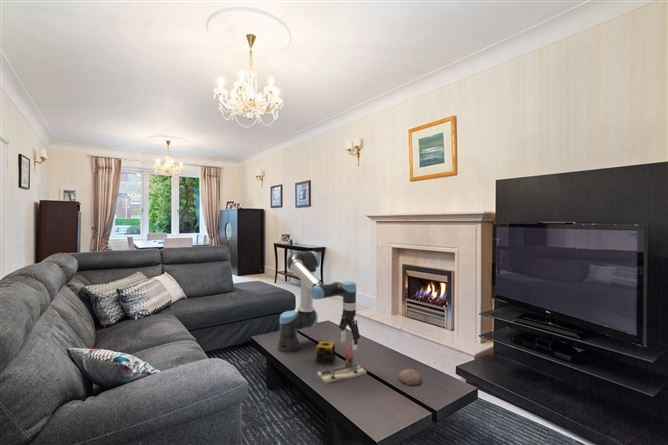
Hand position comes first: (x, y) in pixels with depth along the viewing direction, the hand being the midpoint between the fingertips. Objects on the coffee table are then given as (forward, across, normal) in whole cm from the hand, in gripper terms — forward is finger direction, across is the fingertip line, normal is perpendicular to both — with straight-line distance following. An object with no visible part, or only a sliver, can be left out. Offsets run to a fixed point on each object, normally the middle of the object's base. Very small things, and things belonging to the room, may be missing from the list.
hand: (348, 345), depth 187 cm
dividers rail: (+12, +4, -6) cm, 15 cm away
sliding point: (+12, +4, 0) cm, 13 cm away
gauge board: (+14, +4, -6) cm, 15 cm away
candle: (+14, -16, -7) cm, 23 cm away
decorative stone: (+14, +26, +23) cm, 37 cm away
